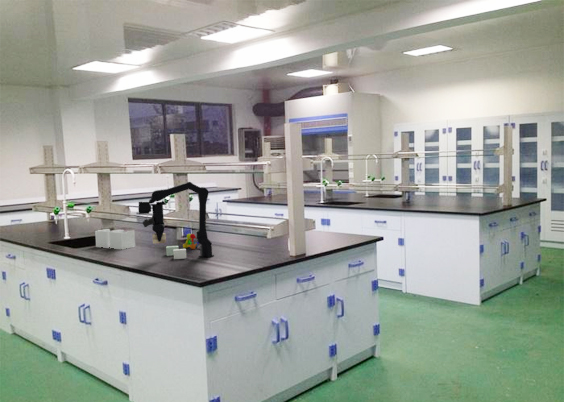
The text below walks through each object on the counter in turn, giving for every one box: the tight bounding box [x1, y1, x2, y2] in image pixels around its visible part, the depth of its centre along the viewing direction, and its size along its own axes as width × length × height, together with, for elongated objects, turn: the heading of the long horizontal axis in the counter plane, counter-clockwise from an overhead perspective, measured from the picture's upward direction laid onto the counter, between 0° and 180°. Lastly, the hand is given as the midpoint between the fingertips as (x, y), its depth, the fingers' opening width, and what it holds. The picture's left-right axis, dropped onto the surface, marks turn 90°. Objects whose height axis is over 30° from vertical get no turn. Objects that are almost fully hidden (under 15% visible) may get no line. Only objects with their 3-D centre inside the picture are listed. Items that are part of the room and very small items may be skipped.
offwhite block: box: [173, 248, 187, 260], centre depth 281 cm, size 7×4×5 cm, turn 103°
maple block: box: [151, 232, 167, 245], centre depth 276 cm, size 7×4×5 cm, turn 103°
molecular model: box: [182, 233, 200, 250], centre depth 313 cm, size 11×10×15 cm
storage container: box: [94, 228, 136, 250], centre depth 326 cm, size 25×11×11 cm, turn 59°
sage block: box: [165, 245, 180, 257], centre depth 292 cm, size 7×4×5 cm, turn 103°
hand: (159, 240), depth 276 cm, fingers closed on maple block, 4 cm apart
